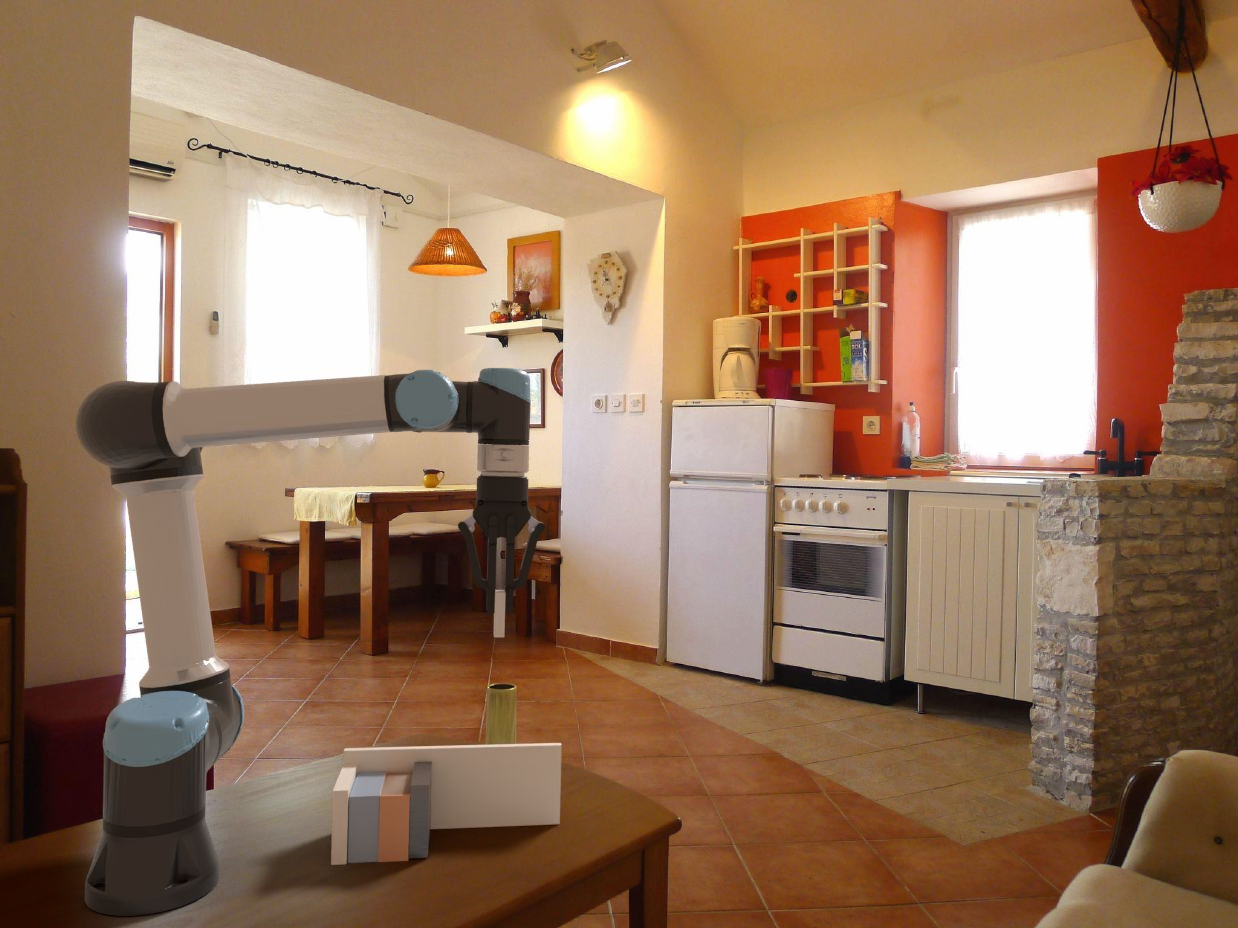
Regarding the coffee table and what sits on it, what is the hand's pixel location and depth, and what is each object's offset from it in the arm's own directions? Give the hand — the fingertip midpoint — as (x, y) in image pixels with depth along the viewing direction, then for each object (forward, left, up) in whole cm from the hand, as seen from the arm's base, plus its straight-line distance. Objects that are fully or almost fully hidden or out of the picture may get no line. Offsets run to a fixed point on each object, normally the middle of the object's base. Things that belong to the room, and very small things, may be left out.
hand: (498, 635), depth 136 cm
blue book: (-18, -2, -30) cm, 35 cm away
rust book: (-14, -2, -30) cm, 33 cm away
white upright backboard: (-6, -1, -29) cm, 30 cm away
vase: (+2, +32, -30) cm, 43 cm away
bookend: (-11, -2, -29) cm, 31 cm away
